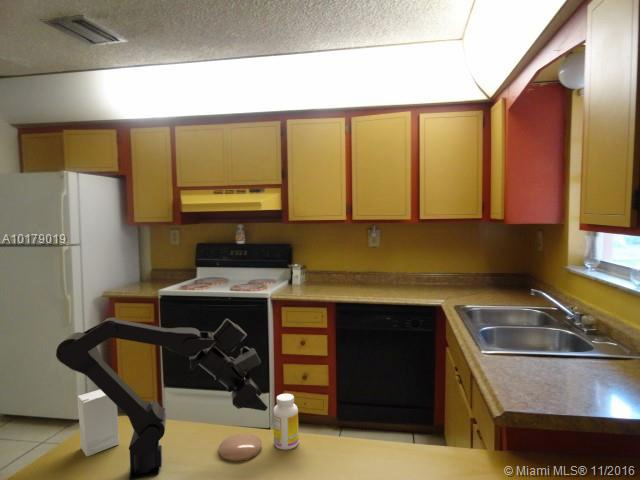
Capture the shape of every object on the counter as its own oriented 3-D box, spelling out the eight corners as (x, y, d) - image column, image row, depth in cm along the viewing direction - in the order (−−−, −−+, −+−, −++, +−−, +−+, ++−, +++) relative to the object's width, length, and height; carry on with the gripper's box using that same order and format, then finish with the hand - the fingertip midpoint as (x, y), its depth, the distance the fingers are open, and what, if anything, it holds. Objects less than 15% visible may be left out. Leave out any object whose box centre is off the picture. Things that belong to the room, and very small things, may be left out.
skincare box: (112, 437, 111) (111, 385, 111) (119, 445, 107) (118, 391, 106) (78, 449, 105) (76, 394, 105) (84, 458, 101) (82, 401, 101)
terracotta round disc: (220, 465, 97) (220, 460, 97) (218, 442, 108) (217, 437, 108) (264, 456, 101) (264, 451, 101) (258, 435, 111) (258, 430, 111)
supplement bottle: (300, 437, 109) (299, 392, 109) (296, 451, 103) (295, 402, 102) (276, 436, 110) (275, 391, 110) (271, 450, 103) (270, 402, 103)
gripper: (245, 351, 93) (292, 391, 97) (237, 332, 111) (277, 366, 115) (212, 389, 91) (261, 428, 95) (209, 363, 109) (250, 396, 113)
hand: (263, 401), depth 104 cm, fingers open, 9 cm apart
